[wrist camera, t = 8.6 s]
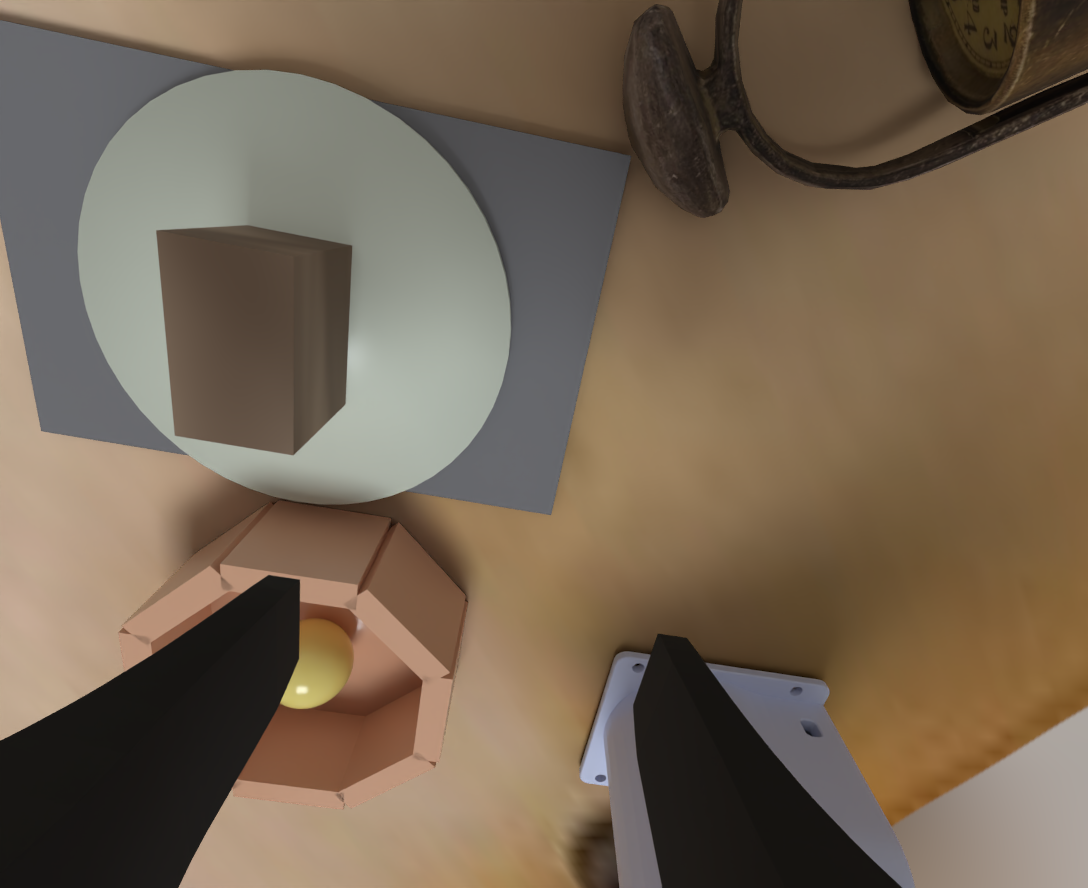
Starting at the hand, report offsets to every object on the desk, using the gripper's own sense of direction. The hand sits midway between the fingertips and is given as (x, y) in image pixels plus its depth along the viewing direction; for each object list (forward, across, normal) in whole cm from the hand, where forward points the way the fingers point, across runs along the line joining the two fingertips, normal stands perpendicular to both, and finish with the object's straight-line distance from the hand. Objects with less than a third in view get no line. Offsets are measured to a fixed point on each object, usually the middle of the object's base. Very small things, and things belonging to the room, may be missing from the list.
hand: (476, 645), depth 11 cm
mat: (+9, +7, -4) cm, 12 cm away
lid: (+9, +7, -4) cm, 12 cm away
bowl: (+9, +6, +9) cm, 14 cm away
